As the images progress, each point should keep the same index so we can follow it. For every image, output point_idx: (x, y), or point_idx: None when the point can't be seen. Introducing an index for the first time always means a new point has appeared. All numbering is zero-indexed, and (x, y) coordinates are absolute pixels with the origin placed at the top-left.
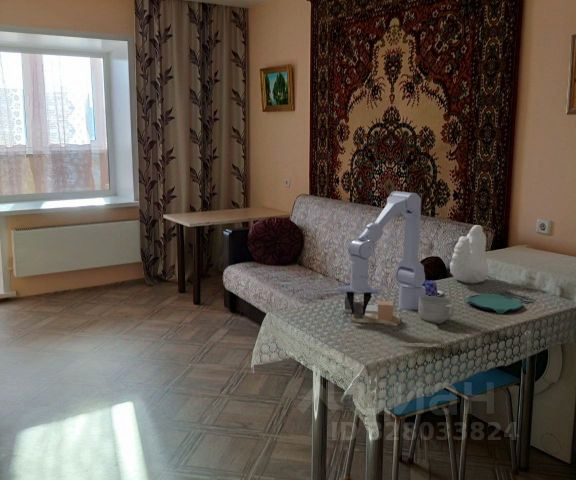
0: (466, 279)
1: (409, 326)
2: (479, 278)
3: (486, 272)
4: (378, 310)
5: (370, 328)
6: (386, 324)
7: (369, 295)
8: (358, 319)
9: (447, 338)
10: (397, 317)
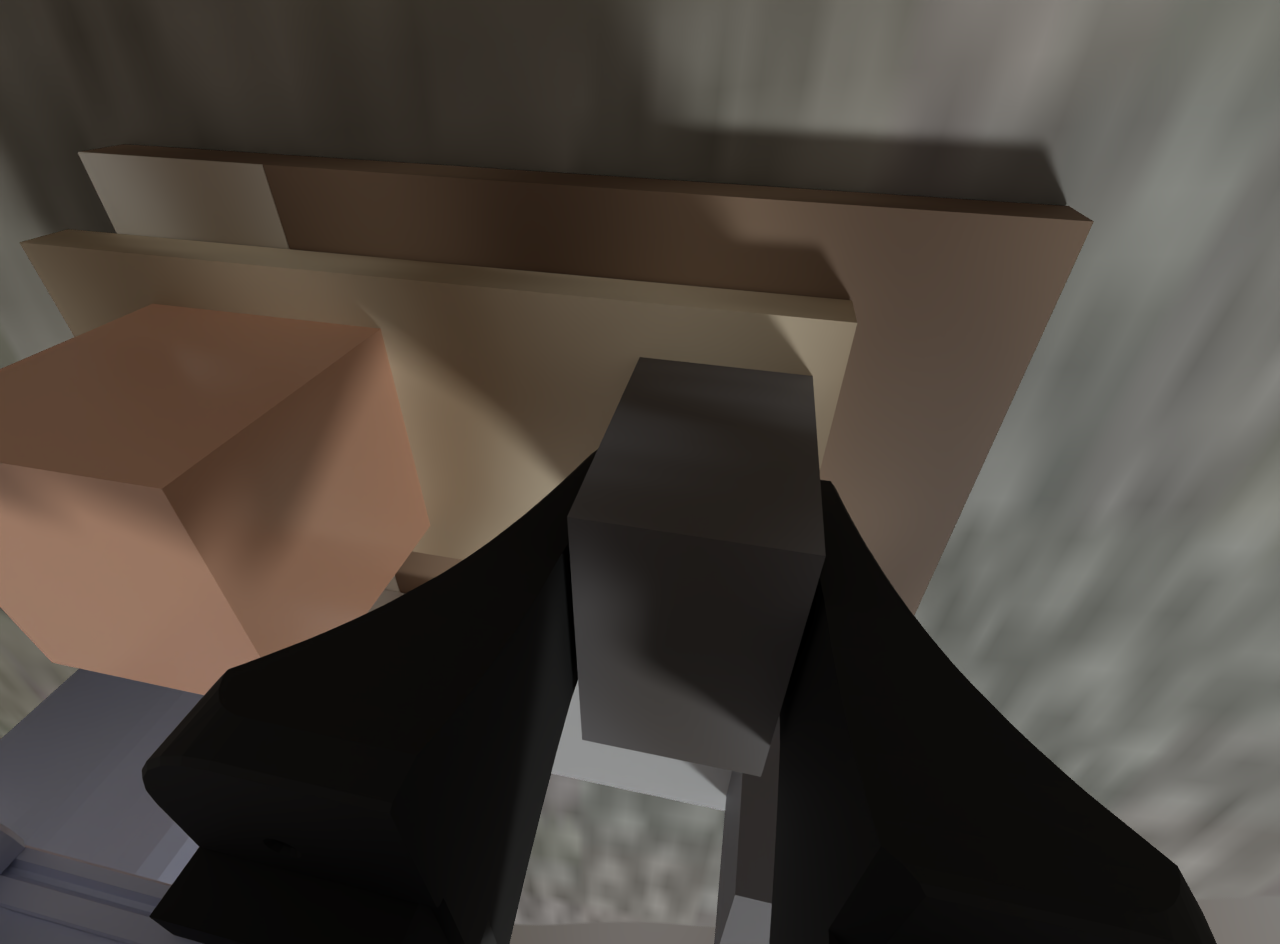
0: None
1: (24, 252)
2: None
3: None
4: (260, 411)
5: (525, 97)
6: (246, 192)
7: (223, 826)
8: (727, 310)
9: None
10: None
